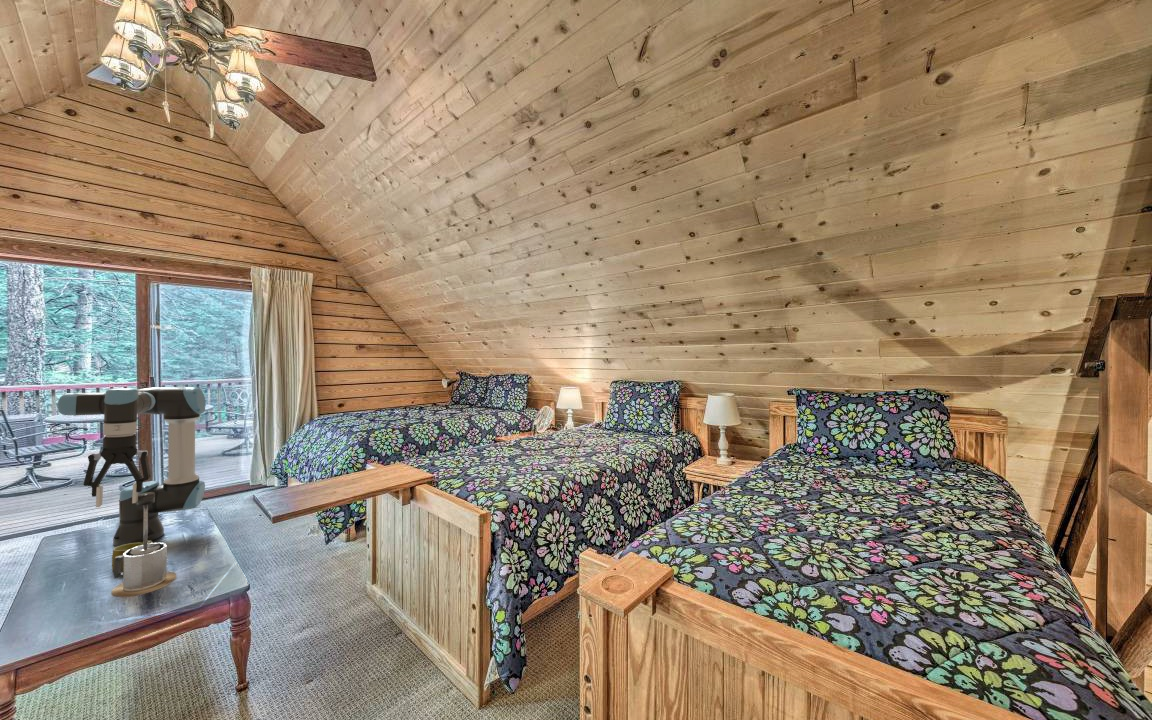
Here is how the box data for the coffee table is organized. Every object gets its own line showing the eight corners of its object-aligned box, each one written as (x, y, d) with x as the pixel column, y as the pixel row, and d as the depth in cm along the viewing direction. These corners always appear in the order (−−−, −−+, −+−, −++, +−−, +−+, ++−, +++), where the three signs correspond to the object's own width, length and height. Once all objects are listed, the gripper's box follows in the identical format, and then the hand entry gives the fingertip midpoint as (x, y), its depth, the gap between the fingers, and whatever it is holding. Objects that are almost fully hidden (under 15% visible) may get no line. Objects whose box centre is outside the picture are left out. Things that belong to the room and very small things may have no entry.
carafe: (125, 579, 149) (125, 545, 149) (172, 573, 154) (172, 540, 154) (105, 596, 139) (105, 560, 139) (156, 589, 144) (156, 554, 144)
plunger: (138, 547, 149) (138, 492, 148) (164, 544, 152) (164, 490, 151) (125, 557, 142) (125, 498, 142) (153, 554, 145) (153, 496, 144)
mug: (123, 572, 151) (124, 543, 154) (102, 577, 153) (103, 548, 156) (163, 563, 163) (163, 536, 165) (143, 567, 165) (144, 541, 167)
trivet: (129, 577, 152) (129, 575, 152) (185, 570, 158) (185, 568, 158) (98, 602, 137) (98, 600, 137) (162, 593, 143) (162, 592, 143)
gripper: (68, 439, 132) (65, 512, 132) (159, 434, 143) (157, 502, 143) (79, 435, 138) (76, 505, 138) (165, 431, 150) (162, 496, 149)
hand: (117, 503), depth 141 cm, fingers open, 8 cm apart
